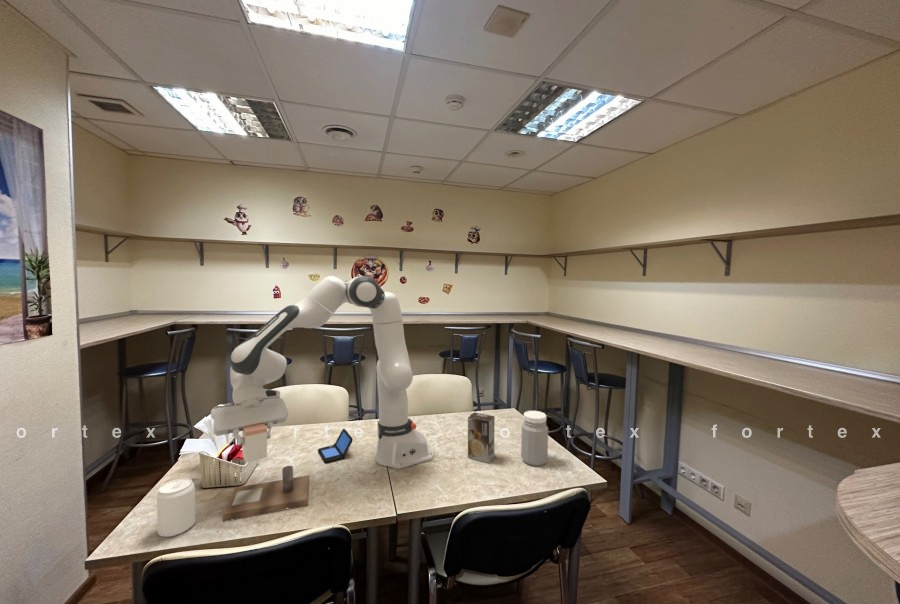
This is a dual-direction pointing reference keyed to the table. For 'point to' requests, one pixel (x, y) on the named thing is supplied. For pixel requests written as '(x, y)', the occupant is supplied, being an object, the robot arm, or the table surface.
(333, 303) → the robot arm
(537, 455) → the jar
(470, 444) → the coffee box
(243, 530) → the table surface
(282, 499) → the board
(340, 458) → the handheld game console
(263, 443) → the white tall block
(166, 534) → the white cylinder
